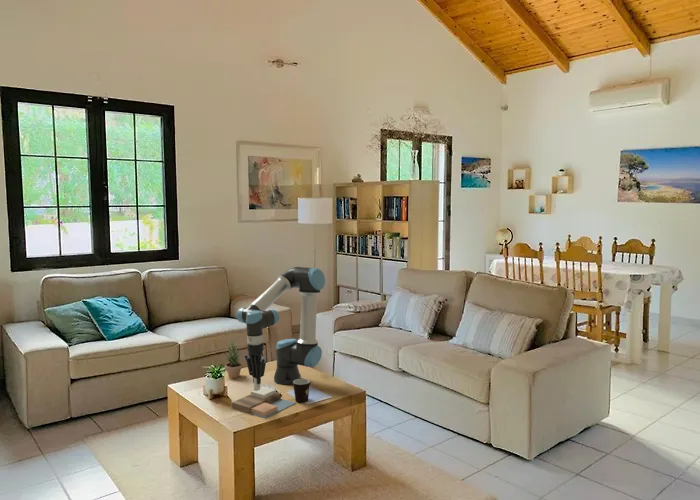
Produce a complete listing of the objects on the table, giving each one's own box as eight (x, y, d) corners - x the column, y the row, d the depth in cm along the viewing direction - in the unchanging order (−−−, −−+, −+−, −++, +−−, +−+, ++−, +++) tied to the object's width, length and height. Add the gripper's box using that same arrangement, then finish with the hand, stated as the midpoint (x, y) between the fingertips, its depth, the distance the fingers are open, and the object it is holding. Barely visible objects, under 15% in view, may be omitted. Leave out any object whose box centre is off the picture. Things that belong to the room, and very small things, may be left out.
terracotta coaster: (264, 406, 269) (263, 402, 269) (277, 410, 264) (277, 406, 264) (250, 412, 262) (250, 408, 261) (264, 416, 256) (264, 412, 256)
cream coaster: (263, 389, 284) (263, 386, 284) (275, 393, 279) (275, 389, 279) (250, 395, 277) (250, 391, 276) (263, 398, 272) (263, 395, 271)
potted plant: (233, 380, 308) (231, 337, 305) (222, 377, 314) (220, 335, 311) (246, 375, 316) (245, 334, 313) (235, 372, 322) (234, 331, 319)
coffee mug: (298, 405, 271) (298, 385, 270) (290, 400, 278) (289, 381, 277) (318, 399, 278) (318, 380, 277) (309, 394, 285) (309, 376, 284)
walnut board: (263, 394, 286) (263, 388, 285) (280, 399, 279) (280, 393, 279) (232, 408, 268) (231, 402, 267) (249, 413, 261) (249, 407, 261)
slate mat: (281, 399, 279) (281, 398, 279) (296, 403, 273) (296, 402, 273) (250, 413, 261) (250, 413, 261) (265, 418, 255) (265, 417, 255)
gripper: (239, 343, 263) (242, 389, 266) (259, 347, 256) (261, 395, 258) (250, 339, 269) (253, 384, 272) (270, 343, 262) (272, 390, 265)
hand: (257, 389), depth 265 cm, fingers closed
